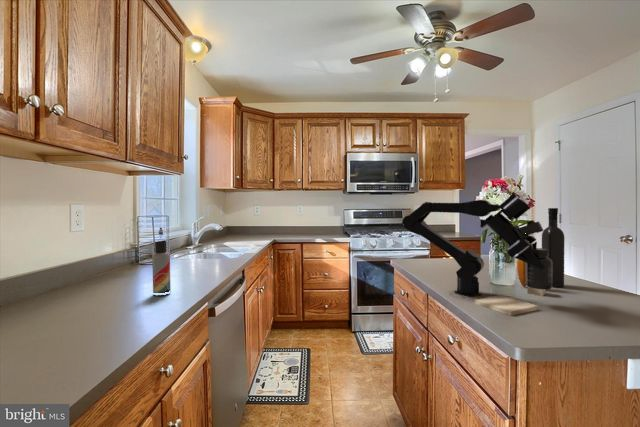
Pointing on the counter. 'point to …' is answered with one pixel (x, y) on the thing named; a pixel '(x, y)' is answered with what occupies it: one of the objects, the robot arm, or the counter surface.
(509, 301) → the maple board
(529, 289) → the oak block
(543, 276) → the supplement bottle
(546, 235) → the wine bottle
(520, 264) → the carrot
